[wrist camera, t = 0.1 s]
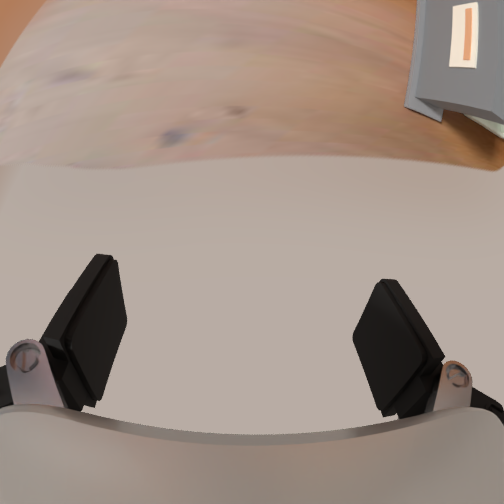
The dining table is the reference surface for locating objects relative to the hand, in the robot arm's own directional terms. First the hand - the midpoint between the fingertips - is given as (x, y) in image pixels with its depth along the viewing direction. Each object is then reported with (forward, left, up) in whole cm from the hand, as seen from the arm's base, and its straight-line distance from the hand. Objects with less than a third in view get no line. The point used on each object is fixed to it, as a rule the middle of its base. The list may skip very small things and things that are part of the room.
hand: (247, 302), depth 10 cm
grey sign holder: (-23, +26, -31) cm, 47 cm away
